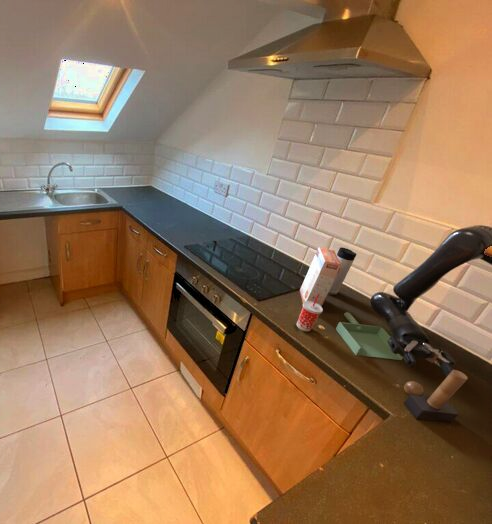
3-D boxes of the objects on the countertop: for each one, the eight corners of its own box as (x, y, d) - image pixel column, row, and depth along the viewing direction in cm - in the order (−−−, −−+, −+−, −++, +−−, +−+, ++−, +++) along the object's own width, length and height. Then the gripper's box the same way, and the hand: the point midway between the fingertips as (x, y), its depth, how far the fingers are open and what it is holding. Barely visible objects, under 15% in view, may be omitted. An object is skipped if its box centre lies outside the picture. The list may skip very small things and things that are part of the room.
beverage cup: (305, 334, 101) (321, 301, 94) (290, 323, 106) (304, 290, 99) (316, 330, 104) (333, 297, 97) (301, 319, 109) (316, 287, 102)
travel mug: (317, 286, 131) (335, 245, 121) (330, 287, 132) (350, 246, 122) (326, 295, 125) (346, 252, 116) (340, 295, 126) (361, 253, 117)
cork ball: (421, 396, 83) (429, 386, 81) (416, 402, 81) (424, 392, 79) (404, 385, 86) (411, 376, 84) (398, 391, 84) (406, 381, 82)
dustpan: (402, 360, 95) (407, 353, 93) (355, 355, 95) (360, 347, 93) (363, 319, 113) (367, 312, 111) (324, 314, 113) (327, 308, 111)
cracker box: (319, 313, 113) (343, 265, 103) (302, 308, 115) (324, 260, 105) (314, 294, 125) (335, 249, 115) (299, 290, 127) (318, 245, 117)
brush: (436, 407, 80) (470, 369, 73) (450, 422, 76) (487, 384, 69) (403, 403, 80) (433, 365, 73) (415, 419, 76) (449, 380, 69)
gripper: (387, 316, 94) (408, 351, 80) (441, 330, 90) (472, 369, 77) (375, 334, 97) (394, 370, 84) (427, 348, 94) (455, 388, 80)
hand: (431, 369), depth 80 cm, fingers open, 8 cm apart
